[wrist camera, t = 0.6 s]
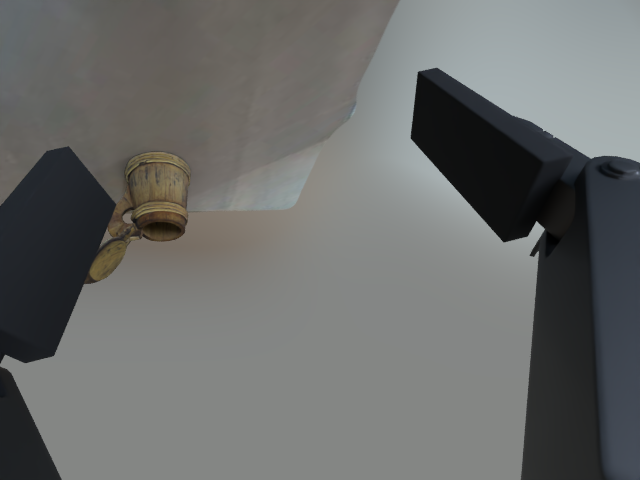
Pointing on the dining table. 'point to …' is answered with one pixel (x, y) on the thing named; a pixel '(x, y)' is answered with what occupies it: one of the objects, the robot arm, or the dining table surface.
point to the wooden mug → (145, 208)
